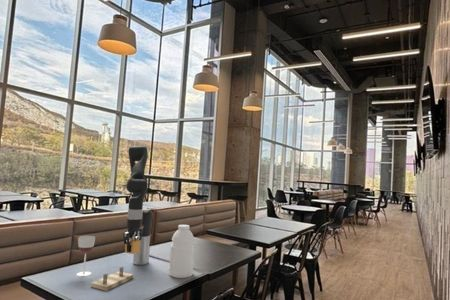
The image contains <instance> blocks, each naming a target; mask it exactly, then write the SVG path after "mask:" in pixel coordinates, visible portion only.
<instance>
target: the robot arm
mask: <svg viewBox="0 0 450 300" xmlns="http://www.w3.org/2000/svg"><path fill="white" fill-rule="evenodd" d="M148 151H149V150H148V148H147V146H145V145H134V146H133V145H132V146H129V147H128V160H129V166H130V167H129V168H130V177H129V179H128V180H127V183H126V190H127V192H129V193H132V197H130V198H129V200H128V209H127V218H126V228H127V232H123V244H124V245H126V244H127V252H129V253H128V254H130V252H131V246H132V245H131V244H132V241H133V240H134V239H137V240H140V252H138V253H135V254H133V257H132V264H133V265H135V266H136V265H137V266H140V265H141V266H144V265H147V264H148V262H149V260H150V241H151V240H150V239H151V231H152V221H153V212H152V210H149V209H143V205H144V198H145V197H146V195H147V193H148V186H149V185H148V181H147V178H146V177H145V170H146V165H147V162H148V157H149V156H148V155H149V153H148ZM142 226H143V227H142ZM141 227H142V228H141ZM129 240H130V242H129ZM126 241H127V242H126Z"/></svg>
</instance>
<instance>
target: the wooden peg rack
mask: <svg viewBox="0 0 450 300" xmlns="http://www.w3.org/2000/svg"><path fill="white" fill-rule="evenodd" d="M132 279H134V274H133V273H130V272H129V273H128V272H125V271H124V266H120V267H119V271H115V272H114V273H111V274H108V273H106V272H105V273H103V276H102V278H99V279H97V280H94V281H92V282H91V283H90V287H91V288H93V289H97V290H102V291H105V292H106V291H107V292H108V291H109V290H112V289H113V288H115V287H118V286H120V285H122V284H124V283H126V282H128V281H130V280H132Z"/></svg>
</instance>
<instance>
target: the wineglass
mask: <svg viewBox="0 0 450 300" xmlns="http://www.w3.org/2000/svg"><path fill="white" fill-rule="evenodd" d="M77 239H78V240H77V245H78V249H79V251H80V252H82V253H84V258H83V271H80V272H77V273H76V276H77V277H87V276H91V275H92V272H90V271H86V261H87V254H88V253H90V252H91V251H92V250H93V249H94V245H95V243H96V242H95V241H96V236H95V235H81V236H78V237H77Z"/></svg>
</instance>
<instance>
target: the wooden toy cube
mask: <svg viewBox="0 0 450 300" xmlns="http://www.w3.org/2000/svg"><path fill="white" fill-rule="evenodd" d="M126 242H127V240H126ZM129 242H130V240H129ZM124 245H125V247H124V253H125V254H130V255H131V254H132V255H134V254H135V253H138V252H140V240H137V239H134V240H133V241H132V244H131V245H132V246H131V252H130V253H129V252H127V244H124Z"/></svg>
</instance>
